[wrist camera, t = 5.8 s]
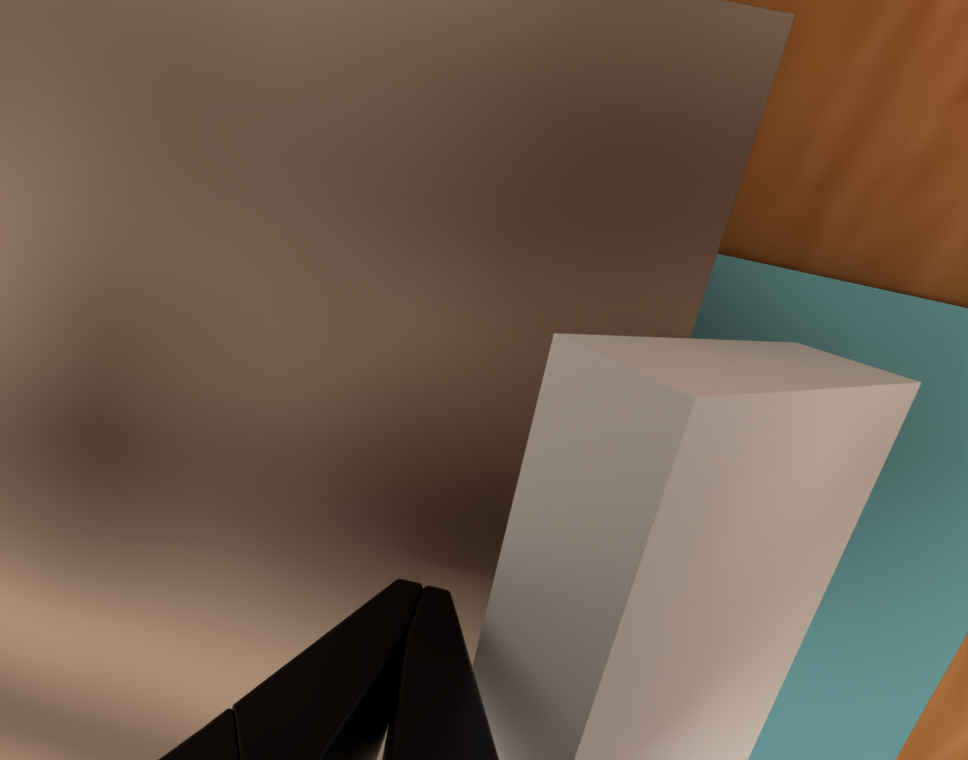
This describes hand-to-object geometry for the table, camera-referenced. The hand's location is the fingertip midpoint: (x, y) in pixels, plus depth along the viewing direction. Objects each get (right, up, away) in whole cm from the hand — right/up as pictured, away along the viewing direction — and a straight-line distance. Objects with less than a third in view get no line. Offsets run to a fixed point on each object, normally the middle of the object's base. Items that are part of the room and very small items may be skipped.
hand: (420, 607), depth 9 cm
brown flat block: (-2, +2, +5) cm, 6 cm away
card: (+4, 0, 0) cm, 4 cm away
